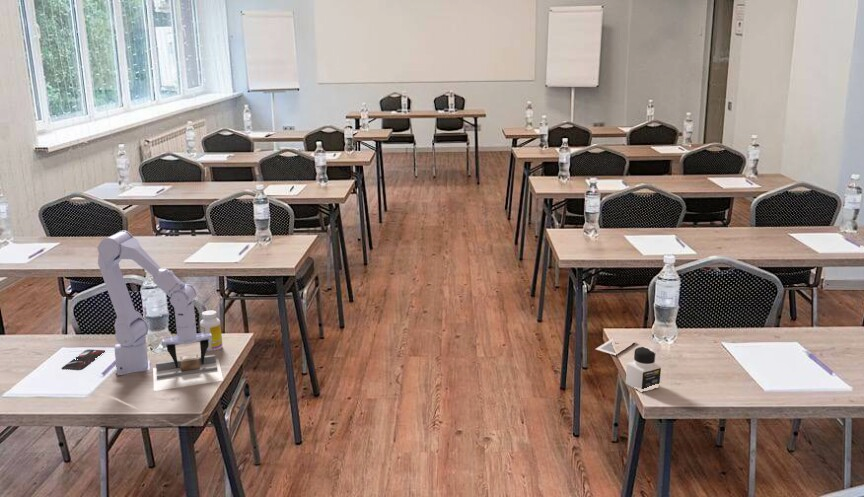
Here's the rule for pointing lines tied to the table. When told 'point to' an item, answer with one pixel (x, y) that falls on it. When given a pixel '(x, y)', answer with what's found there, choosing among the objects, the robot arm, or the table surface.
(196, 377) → the wall board
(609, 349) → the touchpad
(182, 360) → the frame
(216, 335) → the supplement bottle
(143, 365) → the robot arm
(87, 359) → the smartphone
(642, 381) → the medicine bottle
